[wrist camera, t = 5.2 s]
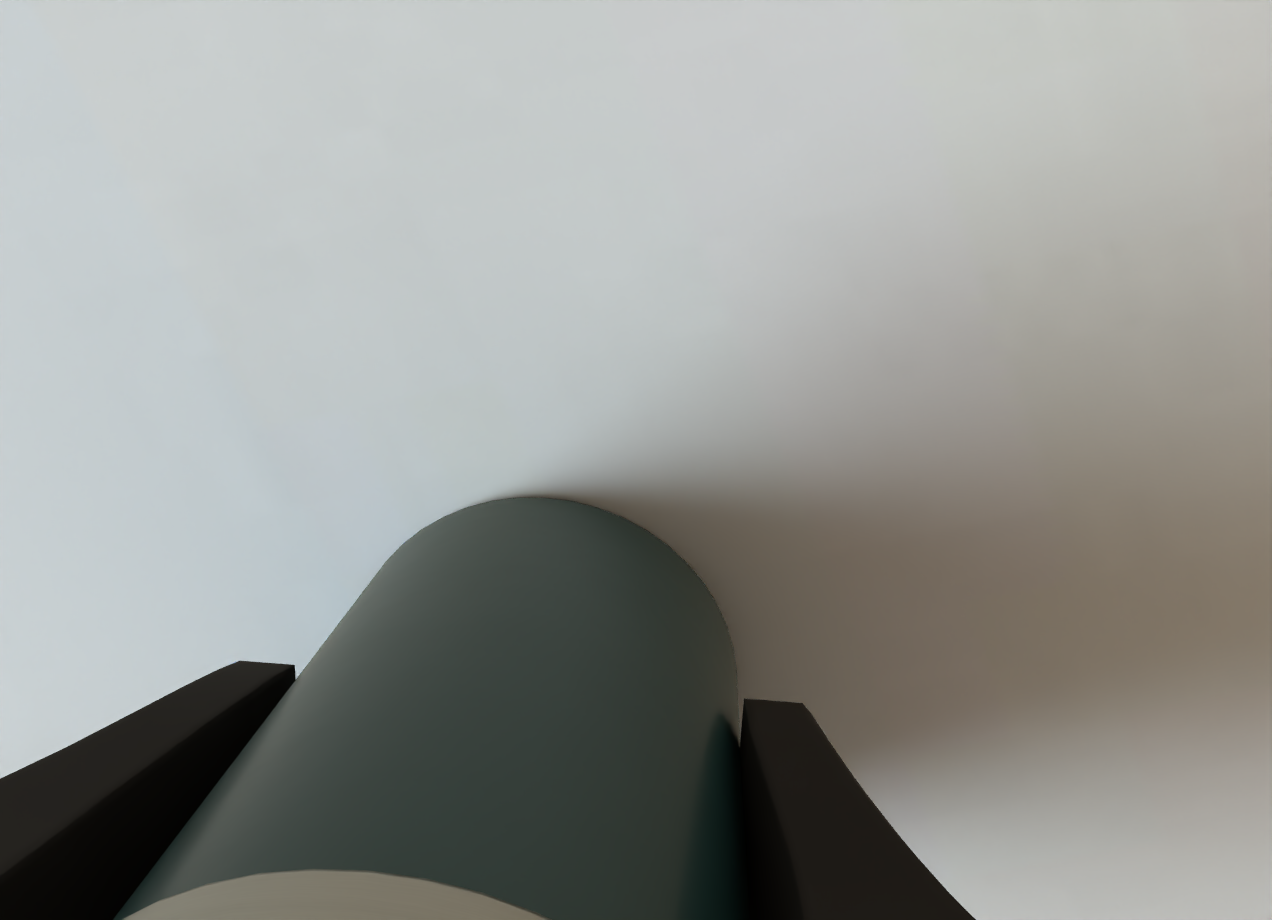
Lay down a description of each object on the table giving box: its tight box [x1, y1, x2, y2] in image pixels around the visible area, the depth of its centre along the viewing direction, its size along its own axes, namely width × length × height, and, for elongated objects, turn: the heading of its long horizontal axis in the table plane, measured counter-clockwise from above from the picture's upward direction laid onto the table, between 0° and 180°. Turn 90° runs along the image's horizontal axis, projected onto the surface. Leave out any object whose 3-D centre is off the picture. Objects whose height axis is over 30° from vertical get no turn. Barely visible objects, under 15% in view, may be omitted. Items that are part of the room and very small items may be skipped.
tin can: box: [113, 498, 750, 920], centre depth 9 cm, size 5×5×7 cm
